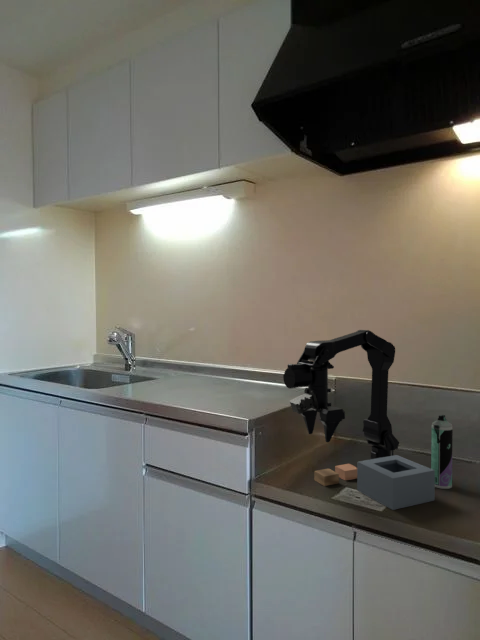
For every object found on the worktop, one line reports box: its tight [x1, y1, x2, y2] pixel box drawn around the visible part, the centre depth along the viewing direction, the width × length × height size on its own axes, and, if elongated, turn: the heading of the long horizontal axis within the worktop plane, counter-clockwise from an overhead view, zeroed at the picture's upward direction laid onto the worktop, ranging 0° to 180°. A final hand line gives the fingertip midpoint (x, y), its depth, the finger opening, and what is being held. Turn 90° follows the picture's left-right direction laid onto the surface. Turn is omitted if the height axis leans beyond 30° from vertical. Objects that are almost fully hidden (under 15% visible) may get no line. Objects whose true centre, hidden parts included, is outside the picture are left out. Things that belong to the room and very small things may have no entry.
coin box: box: [356, 454, 436, 511], centre depth 128 cm, size 14×14×8 cm
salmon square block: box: [334, 463, 357, 481], centre depth 143 cm, size 5×5×3 cm
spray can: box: [430, 414, 454, 490], centre depth 135 cm, size 6×6×20 cm
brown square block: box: [313, 468, 340, 487], centre depth 138 cm, size 5×5×3 cm
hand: (318, 437), depth 139 cm, fingers open, 9 cm apart
